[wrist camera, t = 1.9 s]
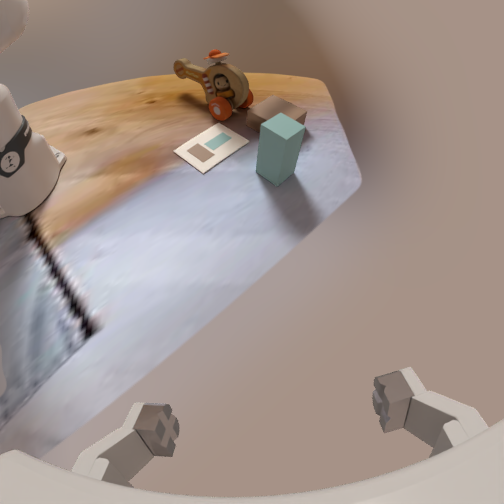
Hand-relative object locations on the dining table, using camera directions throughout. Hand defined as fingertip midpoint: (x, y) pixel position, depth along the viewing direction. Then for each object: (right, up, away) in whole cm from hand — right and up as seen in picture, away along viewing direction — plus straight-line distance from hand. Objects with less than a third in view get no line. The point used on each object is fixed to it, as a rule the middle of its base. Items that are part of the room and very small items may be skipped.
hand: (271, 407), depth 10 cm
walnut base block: (+4, +30, +42) cm, 52 cm away
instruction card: (-8, +25, +38) cm, 46 cm away
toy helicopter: (-9, +38, +45) cm, 60 cm away
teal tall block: (+3, +19, +36) cm, 41 cm away
